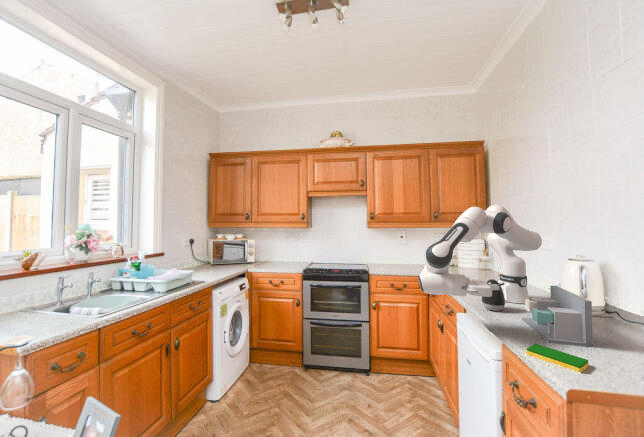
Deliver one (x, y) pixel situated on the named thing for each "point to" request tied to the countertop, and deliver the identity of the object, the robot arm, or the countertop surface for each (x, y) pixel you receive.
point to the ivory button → (530, 305)
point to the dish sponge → (557, 357)
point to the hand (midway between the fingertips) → (498, 287)
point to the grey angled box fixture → (565, 319)
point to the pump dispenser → (494, 298)
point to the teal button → (542, 316)
